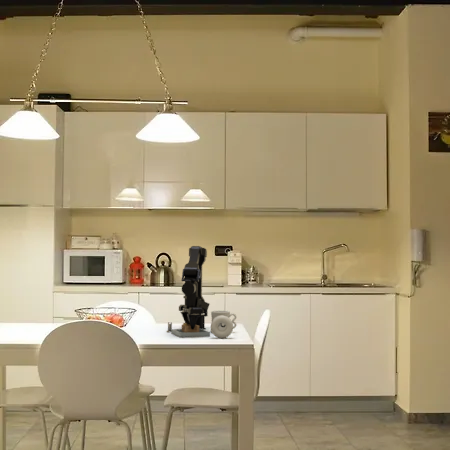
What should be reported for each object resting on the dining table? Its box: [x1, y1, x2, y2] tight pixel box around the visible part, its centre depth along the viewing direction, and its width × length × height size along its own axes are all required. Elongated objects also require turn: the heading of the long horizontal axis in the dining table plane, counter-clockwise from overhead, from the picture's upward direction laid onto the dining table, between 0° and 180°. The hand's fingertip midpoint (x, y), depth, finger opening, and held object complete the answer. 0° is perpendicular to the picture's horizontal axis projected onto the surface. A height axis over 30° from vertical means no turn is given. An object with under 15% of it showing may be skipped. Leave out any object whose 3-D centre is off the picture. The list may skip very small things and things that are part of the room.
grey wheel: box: [210, 315, 234, 339], centre depth 294 cm, size 10×4×10 cm, turn 87°
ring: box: [181, 322, 199, 333], centre depth 303 cm, size 6×6×4 cm
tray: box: [170, 328, 211, 338], centre depth 303 cm, size 14×14×2 cm
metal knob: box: [166, 321, 173, 333], centre depth 313 cm, size 3×3×4 cm
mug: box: [210, 310, 237, 333], centre depth 314 cm, size 12×9×10 cm
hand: (190, 328), depth 303 cm, fingers closed on ring, 6 cm apart
